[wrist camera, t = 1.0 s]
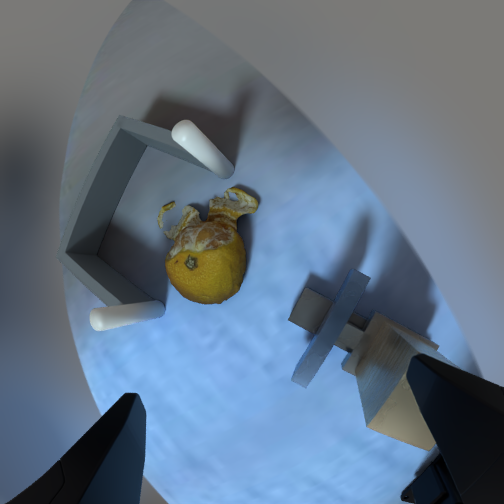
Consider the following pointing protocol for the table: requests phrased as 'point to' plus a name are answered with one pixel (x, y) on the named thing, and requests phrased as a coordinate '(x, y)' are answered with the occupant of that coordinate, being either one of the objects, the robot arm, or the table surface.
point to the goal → (105, 202)
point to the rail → (318, 313)
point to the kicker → (373, 364)
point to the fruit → (208, 249)
